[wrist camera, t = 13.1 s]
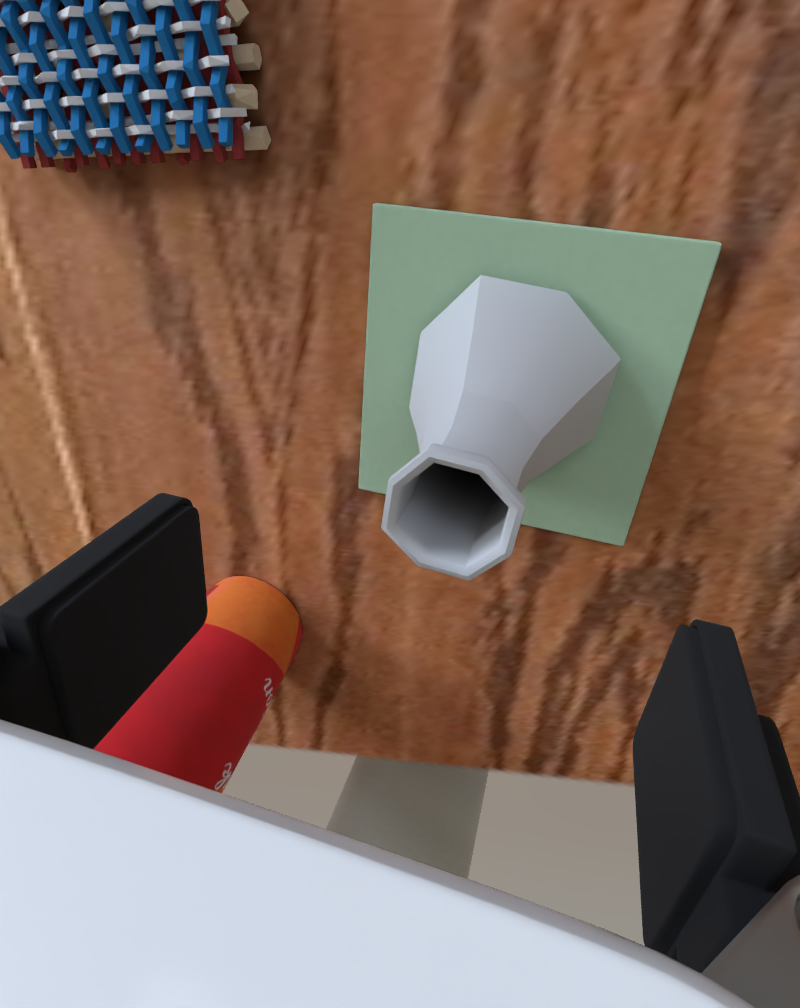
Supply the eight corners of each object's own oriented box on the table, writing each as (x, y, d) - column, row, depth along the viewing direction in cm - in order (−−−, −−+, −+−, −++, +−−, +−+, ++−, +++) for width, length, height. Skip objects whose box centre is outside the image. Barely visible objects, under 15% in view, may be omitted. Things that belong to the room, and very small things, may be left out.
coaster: (623, 540, 24) (623, 547, 24) (362, 483, 26) (357, 489, 26) (720, 242, 18) (723, 243, 18) (377, 202, 21) (372, 203, 20)
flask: (472, 233, 20) (376, 286, 11) (662, 347, 20) (704, 483, 11) (381, 410, 24) (260, 545, 15) (539, 505, 24) (503, 691, 15)
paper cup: (238, 681, 35) (56, 939, 24) (166, 575, 33) (-79, 805, 21) (349, 662, 32) (200, 952, 20) (277, 542, 29) (59, 795, 18)
